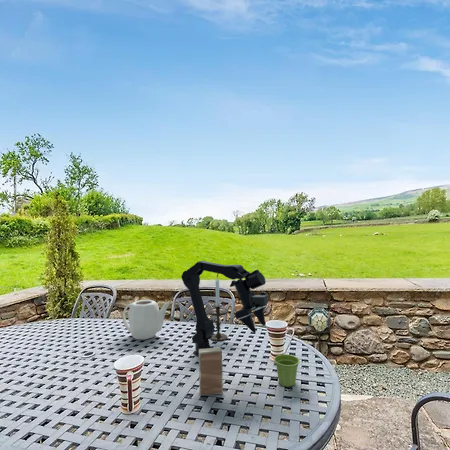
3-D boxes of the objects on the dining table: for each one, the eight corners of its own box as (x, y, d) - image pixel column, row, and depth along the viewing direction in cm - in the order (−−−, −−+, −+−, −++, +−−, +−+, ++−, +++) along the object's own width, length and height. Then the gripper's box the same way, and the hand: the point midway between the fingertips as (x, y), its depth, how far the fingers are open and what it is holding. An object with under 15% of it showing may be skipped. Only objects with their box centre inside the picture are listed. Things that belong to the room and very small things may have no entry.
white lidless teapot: (166, 342, 158) (165, 305, 158) (116, 341, 161) (116, 305, 161) (174, 332, 174) (173, 298, 174) (129, 331, 177) (128, 298, 177)
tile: (199, 391, 110) (198, 349, 110) (221, 388, 112) (220, 347, 112) (200, 396, 107) (199, 352, 107) (223, 393, 108) (222, 350, 108)
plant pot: (301, 378, 118) (300, 355, 118) (298, 391, 109) (298, 366, 109) (276, 375, 121) (276, 353, 121) (272, 387, 112) (271, 363, 112)
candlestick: (227, 334, 169) (225, 270, 169) (230, 341, 158) (228, 272, 158) (207, 335, 167) (206, 270, 168) (209, 342, 157) (207, 273, 157)
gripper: (249, 290, 120) (266, 329, 116) (269, 282, 136) (284, 317, 132) (227, 300, 125) (243, 337, 121) (249, 291, 141) (263, 324, 137)
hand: (259, 328), depth 128 cm, fingers open, 9 cm apart
